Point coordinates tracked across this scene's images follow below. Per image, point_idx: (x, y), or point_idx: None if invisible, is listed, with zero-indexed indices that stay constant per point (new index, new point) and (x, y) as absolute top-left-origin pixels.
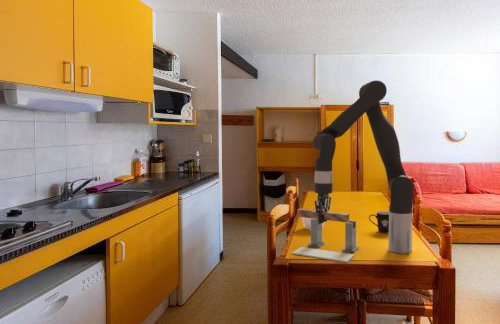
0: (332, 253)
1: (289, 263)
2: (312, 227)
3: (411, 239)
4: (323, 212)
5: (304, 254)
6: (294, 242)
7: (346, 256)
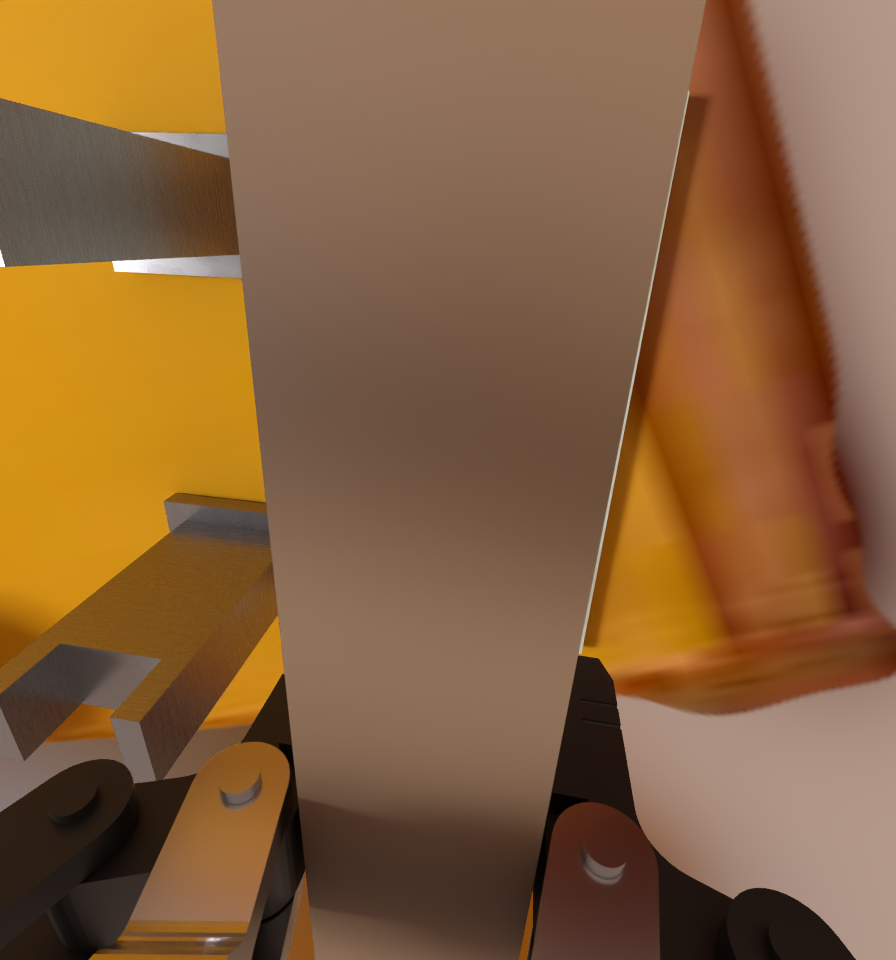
0: None
1: (859, 608)
2: (215, 685)
3: None
4: (631, 885)
5: (597, 561)
6: None
7: None
